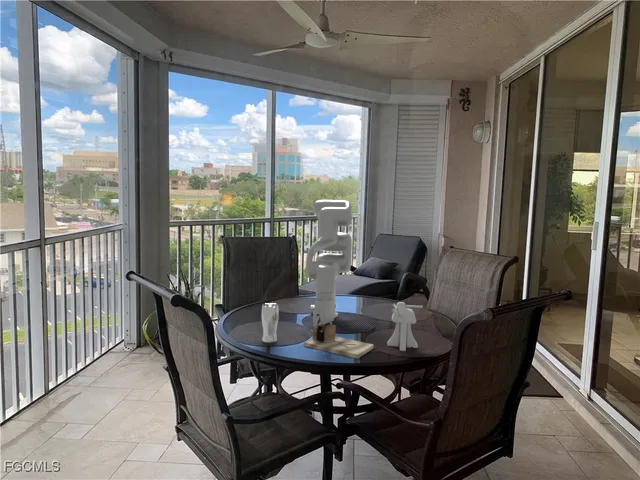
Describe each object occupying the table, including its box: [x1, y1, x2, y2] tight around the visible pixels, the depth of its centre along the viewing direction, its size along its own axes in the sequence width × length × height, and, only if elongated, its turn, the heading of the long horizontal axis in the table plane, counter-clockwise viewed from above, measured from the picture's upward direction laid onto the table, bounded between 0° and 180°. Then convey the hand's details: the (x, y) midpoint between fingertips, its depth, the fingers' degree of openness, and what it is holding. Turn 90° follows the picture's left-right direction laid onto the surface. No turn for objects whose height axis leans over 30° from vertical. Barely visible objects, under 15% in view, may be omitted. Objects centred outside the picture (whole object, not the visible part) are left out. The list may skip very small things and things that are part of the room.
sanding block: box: [311, 322, 337, 343], centre depth 179 cm, size 8×5×6 cm, turn 59°
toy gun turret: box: [386, 301, 424, 352], centre depth 179 cm, size 12×13×18 cm
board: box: [303, 335, 375, 359], centre depth 176 cm, size 24×14×2 cm, turn 59°
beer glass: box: [261, 302, 280, 344], centre depth 181 cm, size 7×7×15 cm
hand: (323, 338), depth 180 cm, fingers closed on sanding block, 5 cm apart
